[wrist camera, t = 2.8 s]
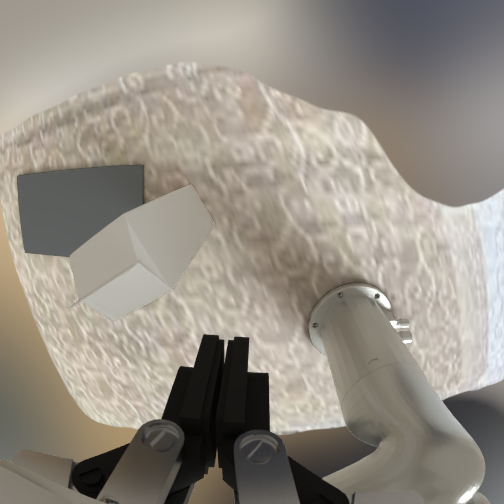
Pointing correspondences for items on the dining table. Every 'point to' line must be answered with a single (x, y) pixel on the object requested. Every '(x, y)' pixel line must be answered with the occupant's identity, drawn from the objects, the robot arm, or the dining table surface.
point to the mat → (74, 205)
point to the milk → (141, 254)
